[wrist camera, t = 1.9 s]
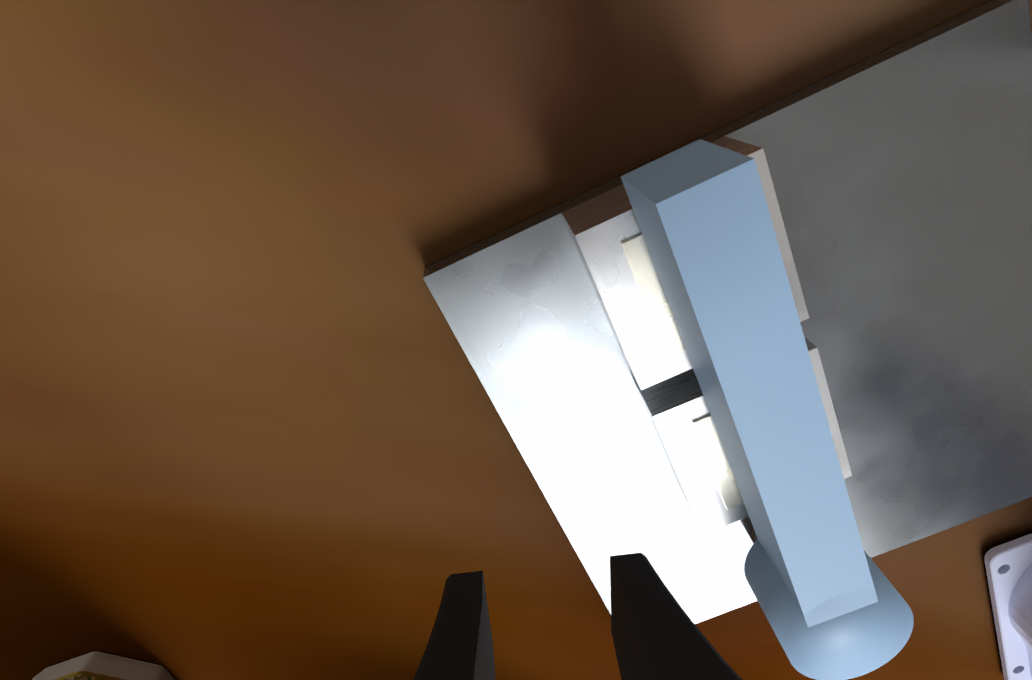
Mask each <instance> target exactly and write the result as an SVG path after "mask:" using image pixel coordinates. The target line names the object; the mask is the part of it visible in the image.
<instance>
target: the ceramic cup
mask: <svg viewBox="0 0 1032 680" xmlns="http://www.w3.org/2000/svg"><path fill="white" fill-rule="evenodd" d="M32 680H175V679H174V678H173V677H172V676H171V675H170V673H169V672H168V671H167V670H166V669H165V668H164V667H162V666H160V665H157V664H152V663H148V662H143V661H139V660H134V659H130V658H125V657H121V656H116V655H111V654H107V653H102V652H97V651H96V652H90V653H88V654H85V655H82V656H79V657H76V658H73V659H70V660H67V661H64V662H62V663H59V664H56V665H53V666H50V667H47V668H45V669H44V670H43V671H42V672H40V673H39V674H37V675H36V676H35V677H34V678H33V679H32Z"/></svg>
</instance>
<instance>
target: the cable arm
mask: <svg viewBox="0 0 1032 680" xmlns="http://www.w3.org/2000/svg"><path fill="white" fill-rule="evenodd" d="M621 179H622V182H623V184H624V187H625V190H626V192H627V195H628V198H629V200H630V203H631V206H632V208H633V211H634V214H635V216H636V219H637V221H638V224H639V227H640V229H641V232H642V235H643V237H644V240H645V243H646V245H647V248H648V251H649V253H650V256H651V258H652V261H653V264H654V266H655V269H656V272H657V274H658V277H659V280H660V282H661V285H662V288H663V290H664V293H665V296H666V298H667V301H668V303H669V306H670V309H671V311H672V314H673V317H674V319H675V322H676V325H677V327H678V330H679V333H680V335H681V338H682V341H683V343H684V346H685V348H686V351H687V354H688V356H689V359H690V362H691V364H692V367H693V370H694V372H695V375H696V378H697V380H698V383H699V385H700V388H701V391H702V393H703V396H704V399H705V401H706V404H707V407H708V409H709V412H710V415H711V417H712V420H713V423H714V425H715V428H716V430H717V433H718V436H719V438H720V441H721V444H722V446H723V449H724V452H725V454H726V457H727V460H728V462H729V465H730V467H731V470H732V473H733V475H734V478H735V481H736V483H737V486H738V489H739V491H740V494H741V497H742V499H743V502H744V505H745V507H746V510H747V512H748V515H749V518H750V520H751V523H752V526H753V528H754V531H755V534H756V536H757V540H756V541H755V543H754V544H753V545H752V547H751V548H750V550H749V552H748V554H747V556H746V560H745V564H744V572H745V577H746V580H747V582H748V584H749V585H750V587H751V589H752V591H753V593H754V595H755V597H756V599H757V600H758V602H759V604H760V606H761V608H762V610H763V612H764V614H765V615H766V617H767V619H768V621H769V623H770V625H771V627H772V629H773V630H774V632H775V634H776V636H777V638H778V640H779V642H780V644H781V645H782V647H783V649H784V651H785V653H786V655H787V657H788V659H789V660H790V662H791V664H792V665H793V667H794V668H795V669H796V670H797V671H798V672H800V673H801V674H803V675H805V676H807V677H809V678H813V679H816V680H847V679H851V678H855V677H858V676H862V675H864V674H867V673H869V672H871V671H873V670H875V669H877V668H879V667H881V666H882V665H884V664H886V663H887V662H888V661H890V660H891V659H892V658H893V657H894V656H896V655H897V654H898V653H899V652H900V650H901V649H902V648H903V647H904V645H905V644H906V643H907V641H908V639H909V637H910V635H911V632H912V629H913V614H912V611H911V609H910V607H909V606H908V604H907V603H906V602H905V600H904V599H903V598H902V597H901V595H900V594H899V593H898V592H897V590H896V589H895V588H894V587H893V585H892V584H891V583H890V582H889V580H888V579H887V578H886V577H885V575H884V574H883V573H882V572H881V570H880V569H879V568H878V567H877V566H876V564H875V563H874V562H873V561H872V559H871V558H870V557H869V556H868V554H867V553H866V552H865V551H864V549H863V545H862V542H861V538H860V534H859V531H858V527H857V524H856V520H855V517H854V513H853V509H852V506H851V502H850V499H849V495H848V492H847V488H846V484H845V481H844V477H843V474H842V470H841V466H840V463H839V459H838V456H837V452H836V449H835V445H834V441H833V438H832V434H831V431H830V427H829V424H828V420H827V416H826V413H825V409H824V406H823V402H822V399H821V395H820V391H819V388H818V384H817V381H816V377H815V374H814V370H813V366H812V363H811V359H810V356H809V352H808V348H807V345H806V341H805V338H804V334H803V331H802V327H801V323H800V320H799V316H798V313H797V309H796V306H795V302H794V298H793V295H792V291H791V288H790V284H789V281H788V277H787V273H786V270H785V266H784V263H783V259H782V256H781V252H780V248H779V245H778V241H777V238H776V234H775V231H774V227H773V223H772V220H771V216H770V213H769V209H768V205H767V202H766V198H765V195H764V191H763V188H762V184H761V180H760V177H759V173H758V170H757V166H756V163H755V159H754V158H752V157H749V156H746V155H743V154H741V153H738V152H735V151H732V150H729V149H726V148H724V147H721V146H718V145H715V144H712V143H710V142H707V141H704V140H701V139H699V140H697V141H695V142H693V143H691V144H689V145H687V146H685V147H682V148H680V149H678V150H676V151H674V152H672V153H670V154H668V155H665V156H663V157H661V158H659V159H657V160H655V161H653V162H651V163H649V164H646V165H644V166H642V167H640V168H638V169H636V170H634V171H632V172H629V173H627V174H625V175H623V176H621Z"/></svg>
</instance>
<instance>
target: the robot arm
mask: <svg viewBox="0 0 1032 680" xmlns="http://www.w3.org/2000/svg"><path fill="white" fill-rule="evenodd" d="M984 560H985V566H986V572H987V578H988V585H989V591H990V597H991V603H992V609H993V615H994V621H995V627H996V633H997V639H998V645H999V651H1000V657H1001V663H1002V669H1003V675H1004V680H1032V533H1031V534H1028V535H1025V536H1023V537H1020V538H1017V539H1015V540H1012V541H1009V542H1007V543H1004V544H1001V545H998V546H996V547H993V548H991V549H990V550H989V551H988V552H987V553H986V554H985V559H984ZM610 586H611V629H612V636H613V641H614V646H615V650H616V655H617V660H618V665H619V670H620V674H621V679H622V680H742V679H741V678H740V677H739V676H738V675H737V674H736V673H735V671H734V670H733V669H732V668H731V667H730V666H729V665H728V664H727V663H726V661H725V660H724V659H723V658H722V657H721V656H720V654H719V653H718V652H717V651H716V650H715V649H714V647H713V646H712V645H711V644H710V643H709V641H708V640H707V639H706V638H705V636H704V635H703V634H702V633H701V632H700V630H699V629H698V628H697V627H696V625H695V624H694V623H693V622H692V620H691V619H690V618H689V617H688V615H687V614H686V613H685V611H684V610H683V609H682V608H681V606H680V605H679V603H678V602H677V601H676V599H675V598H674V597H673V595H672V594H671V593H670V591H669V590H668V588H667V587H666V586H665V584H664V583H663V581H662V580H661V578H660V577H659V576H658V574H657V573H656V571H655V569H654V568H653V566H652V565H651V563H650V562H649V560H648V558H647V557H646V556H645V555H644V554H642V553H632V554H624V555H615V556H610ZM414 680H495V670H494V654H493V642H492V635H491V628H490V620H489V613H488V606H487V599H486V591H485V584H484V577H483V571H477V572H468V573H460V574H451V575H450V576H449V577H448V578H447V579H446V583H445V588H444V593H443V597H442V600H441V604H440V608H439V611H438V614H437V618H436V621H435V624H434V627H433V630H432V633H431V636H430V639H429V642H428V644H427V647H426V649H425V652H424V655H423V657H422V660H421V662H420V665H419V668H418V670H417V673H416V675H415V678H414Z"/></svg>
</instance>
